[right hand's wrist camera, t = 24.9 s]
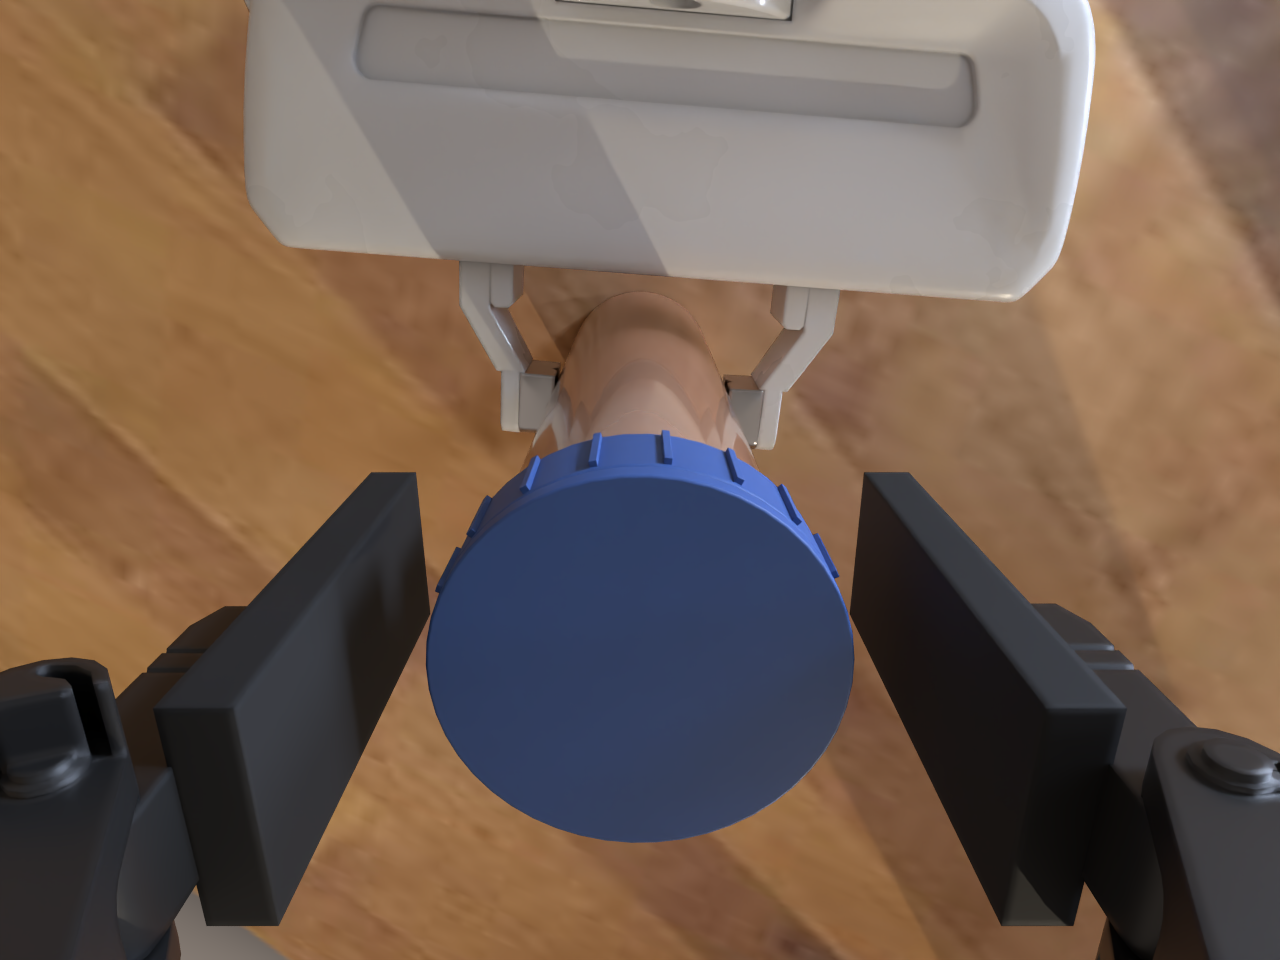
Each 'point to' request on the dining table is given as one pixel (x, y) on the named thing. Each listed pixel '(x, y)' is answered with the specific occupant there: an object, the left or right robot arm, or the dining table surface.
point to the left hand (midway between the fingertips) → (639, 435)
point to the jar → (640, 381)
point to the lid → (640, 641)
